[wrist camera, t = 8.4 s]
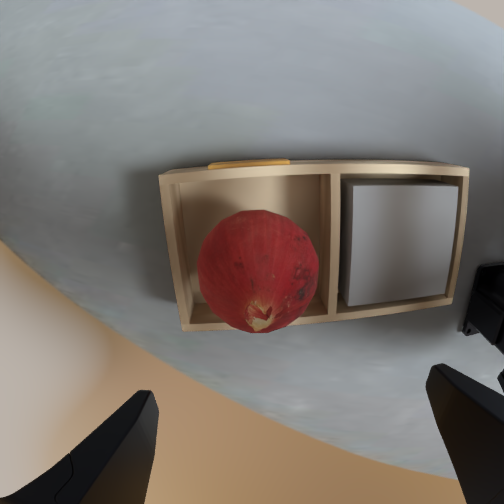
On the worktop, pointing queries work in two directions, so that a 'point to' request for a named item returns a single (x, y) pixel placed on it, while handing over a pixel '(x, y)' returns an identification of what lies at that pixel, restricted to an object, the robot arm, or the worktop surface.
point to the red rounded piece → (257, 271)
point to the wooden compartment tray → (329, 229)
